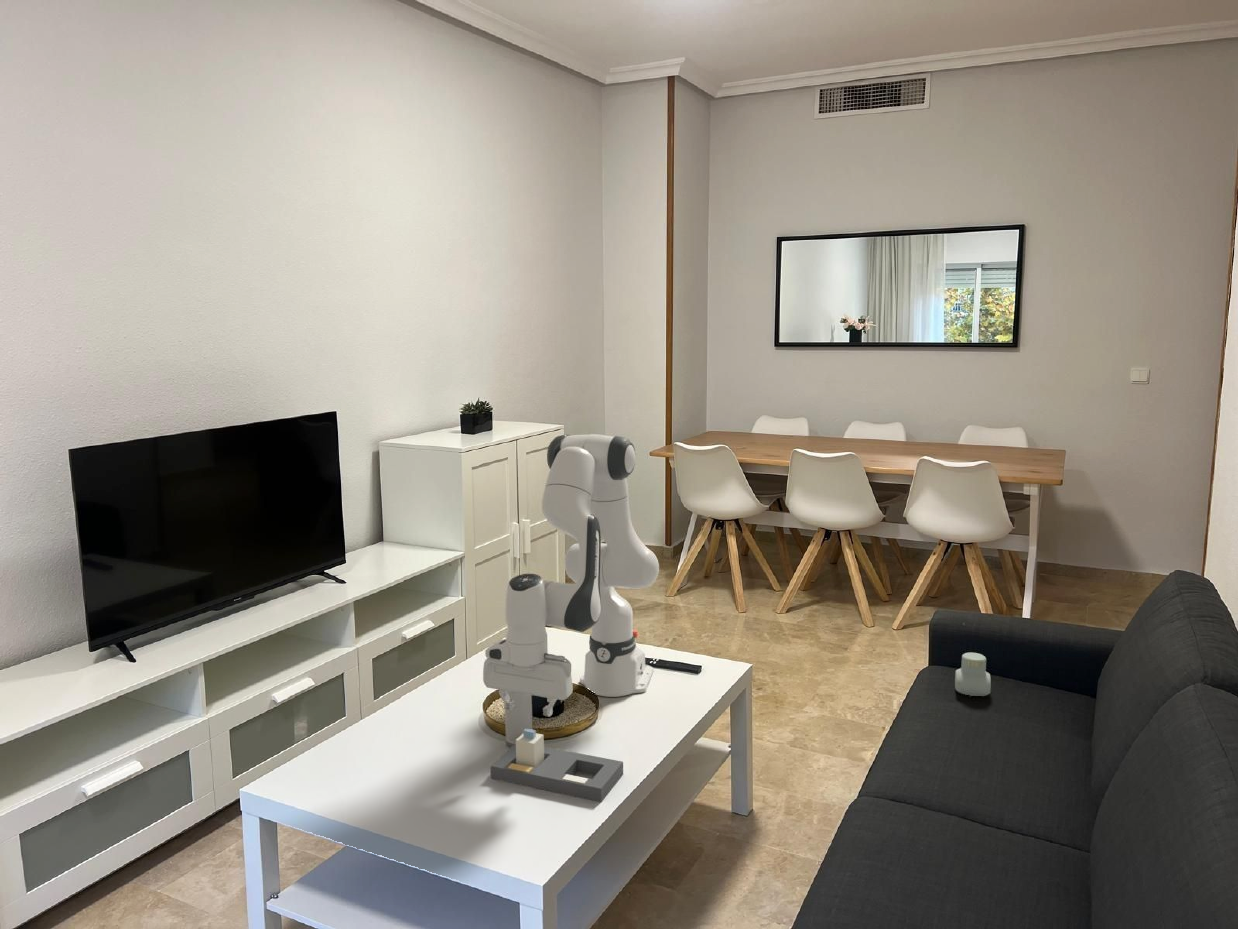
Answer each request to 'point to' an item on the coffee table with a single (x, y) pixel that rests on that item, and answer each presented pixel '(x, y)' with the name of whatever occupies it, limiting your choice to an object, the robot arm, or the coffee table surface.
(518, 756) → the plug
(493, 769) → the panel
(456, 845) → the coffee table surface
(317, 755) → the coffee table surface
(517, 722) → the travel mug
